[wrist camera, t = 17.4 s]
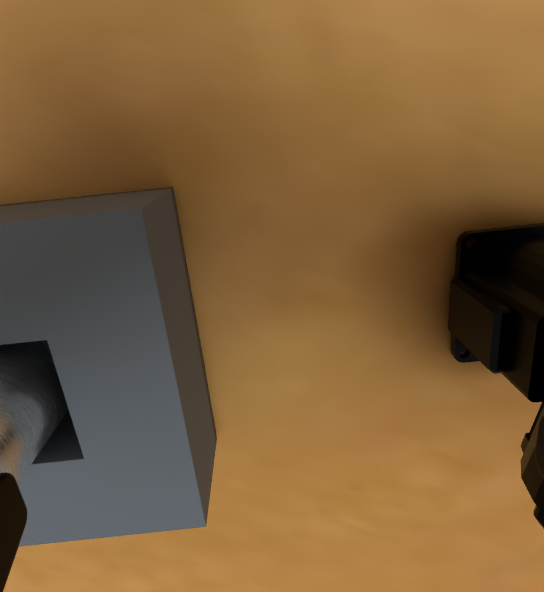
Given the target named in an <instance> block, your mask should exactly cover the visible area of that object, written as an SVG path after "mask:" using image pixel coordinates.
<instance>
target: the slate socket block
mask: <svg viewBox="0 0 544 592" xmlns="http://www.w3.org/2000/svg"><path fill="white" fill-rule="evenodd" d="M42 340H47V342H48V345H49V348H50V351H51V354H52V358H53V361H54V364H55V367H56V370H57V374H58V377H59V380H60V383H61V386H62V390H63V393H64V396H65V399H66V402H67V406H68V410H67V412H66V413H65V415H64V416H63V418H62V419H61V421H60V422H59V424H58V425H57V427H56V428H55V430H54V431H53V433H52V434H51V436H50V437H49V439H48V440H47V442H46V443H45V445H44V446H43V448H42V449H41V451H40V452H39V454H38V455H37V457H36V458H35V460H34V461H33V463H32V464H31V465H30V467H29V468H28V470H27V471H26V473H25V474H24V476H23V477H22V479H21V480H20V482H19V483H18V487H19V489H20V492H21V494H22V497H23V499H24V502H25V504H26V507H27V522H26V526H25V529H24V532H23V535H22V538H21V541H20V544H19V546H28V545H38V544H47V543H57V542H66V541H75V540H85V539H94V538H104V537H113V536H123V535H132V534H141V533H151V532H160V531H170V530H179V529H188V528H198V527H206V522H207V514H208V506H209V498H210V490H211V482H212V473H213V465H214V457H215V449H216V441H217V437H216V431H215V425H214V419H213V414H212V408H211V402H210V397H209V391H208V385H207V379H206V374H205V368H204V362H203V357H202V351H201V345H200V339H199V334H198V328H197V322H196V316H195V311H194V305H193V299H192V294H191V288H190V282H189V276H188V271H187V265H186V259H185V254H184V248H183V242H182V236H181V231H180V225H179V219H178V213H177V208H176V202H175V196H174V191H173V187H169V188H160V189H150V190H141V191H131V192H121V193H112V194H102V195H93V196H83V197H74V198H64V199H55V200H45V201H36V202H26V203H17V204H7V205H0V345H4V344H14V343H23V342H33V341H42ZM19 546H18V547H19Z"/></svg>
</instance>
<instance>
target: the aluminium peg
mask: <svg viewBox="0 0 544 592" xmlns="http://www.w3.org/2000/svg"><path fill="white" fill-rule="evenodd" d="M67 410H68V406H67V402H66V399H65V396H64V393H63V390H62V386H61V383H60V380H59V377H58V374H57V370H56V367H55V364H54V361H53V358H52V354H51V351H50V348H49V345H48V342H47V340H42V341H33V342H23V343H14V344H4V345H0V473H4V472H7V473H11V474H12V475H13V476H14V477H15V479H16V482H17V484H18V483H19V482H20V480H21V479H22V477H23V476H24V474H25V473H26V471H27V470H28V468H29V467H30V465H31V464H32V463H33V461H34V460H35V458H36V457H37V455H38V454H39V452H40V451H41V449H42V448H43V446H44V445H45V443H46V442H47V440H48V439H49V437H50V436H51V434H52V433H53V431H54V430H55V428H56V427H57V425H58V424H59V422H60V421H61V419H62V418H63V416H64V415H65V413H66V412H67Z"/></svg>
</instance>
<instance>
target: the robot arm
mask: <svg viewBox="0 0 544 592" xmlns="http://www.w3.org/2000/svg"><path fill="white" fill-rule="evenodd" d="M472 238H473V241H474V242H473V244H472V245H471V246H470V247H468V248H467V246H466V244H467V241H468V240H469V239H472ZM448 329H449V330H450V331H451V332H452V343H451V353H452V355H453V357H454V358H455V359H456V360H457V361H459V362H463V363H465V362H474V361H480V362H481V363H482V364H483V365H484V366H485V367H486V368H487V369H489V370H490V371H491V372H492V373H494V374H496V373H502V374H503V375H504V376H505V377H506V378H507V379H508V380H509V381H510V382H511V383H512V384H513V385H514V386H515V387H516V388H517V389H518V390H519V391H520V392H521V393H522V394H523V395H524V396H525V397H526V398H528V399H529V400H530V401H531V402H542V404H541V406H540V409H539V411H538V413H537V416H536V418H535V421H534V423H533V425H532V428H531V430H530V432H529V433H526V434H525V436H524V439H523V441H522V443H521V448H522V451H523V456H522V459H521V478H522V480H523V482H524V484H525V486H526V488H527V490H528V491H529V493H530V495H531V497H532V499H533V501H534V502H535V504H536V507H535V509H534V516H535V518H536V519H537V521H538V522H539V524H540V525H541V526H542V527H543V528H544V223H542V224H532V225H523V226H513V227H504V228H494V229H485V230H475V231H467V232H464V233H463V234H461V235H460V237H459V238H458V241H457V250H456V268H455V277H454V278H453V279H452V281H451V282H450V300H449V320H448ZM463 349H466V351H465V352H464V353H463V354H460V352H461V351H462V350H463ZM26 522H27V507H26V504H25V502H24V499H23V497H22V494H21V492H20V489H19V487H18V484H17V482H16V479H15V477H14V476H13V475H12V474H11V473H7V472H4V473H0V592H3V590H4V587H5V584H6V581H7V578H8V576H9V573H10V570H11V567H12V564H13V561H14V558H15V555H16V552H17V549H18V546H19V544H20V541H21V538H22V535H23V532H24V529H25V526H26Z"/></svg>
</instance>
